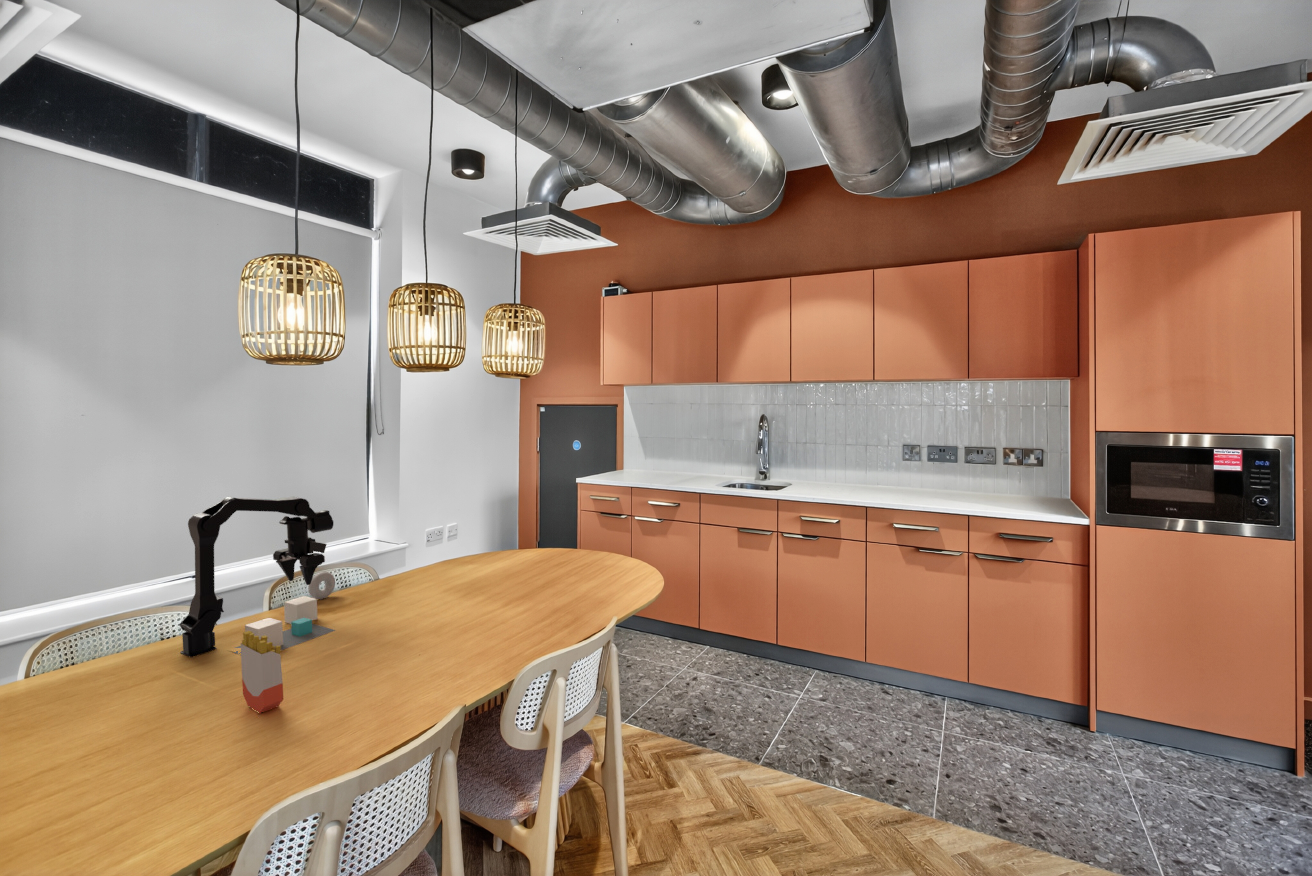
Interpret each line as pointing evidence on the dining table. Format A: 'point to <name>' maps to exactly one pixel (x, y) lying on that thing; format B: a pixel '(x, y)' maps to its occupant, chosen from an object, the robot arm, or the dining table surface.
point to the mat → (293, 640)
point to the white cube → (267, 630)
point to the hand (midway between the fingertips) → (299, 582)
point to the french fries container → (261, 672)
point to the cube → (301, 627)
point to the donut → (316, 582)
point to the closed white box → (300, 609)
